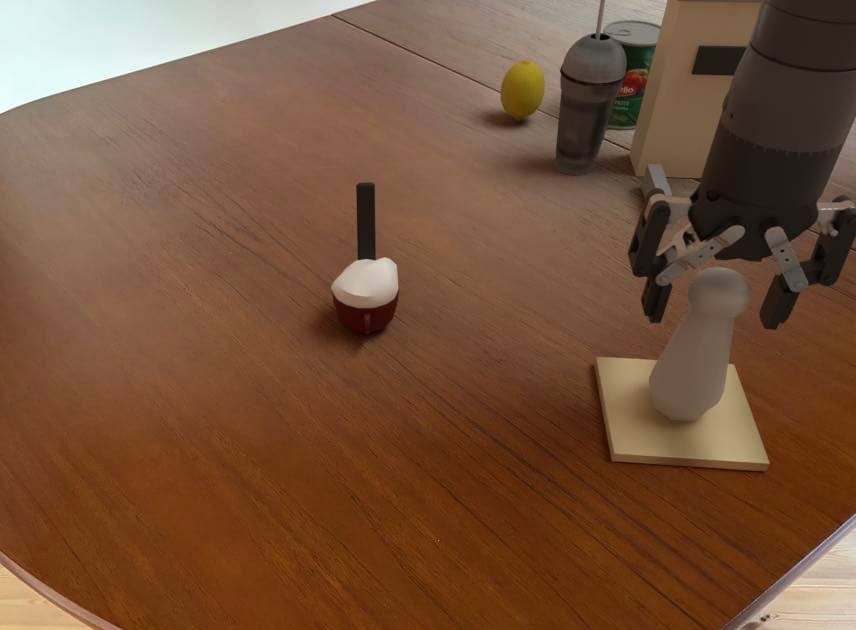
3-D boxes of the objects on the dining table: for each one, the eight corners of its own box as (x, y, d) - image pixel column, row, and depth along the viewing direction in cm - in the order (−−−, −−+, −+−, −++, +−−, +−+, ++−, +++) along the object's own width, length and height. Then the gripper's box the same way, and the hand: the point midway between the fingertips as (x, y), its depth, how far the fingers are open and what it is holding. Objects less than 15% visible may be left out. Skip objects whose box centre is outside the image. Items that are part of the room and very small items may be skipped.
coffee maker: (733, 156, 105) (803, -48, 89) (766, 223, 94) (852, 4, 78) (624, 153, 106) (673, -49, 90) (644, 218, 95) (704, 2, 79)
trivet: (730, 372, 77) (734, 363, 76) (766, 471, 68) (770, 463, 68) (593, 364, 78) (595, 356, 77) (611, 461, 69) (614, 453, 69)
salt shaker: (726, 403, 72) (780, 276, 63) (695, 440, 69) (747, 312, 60) (662, 373, 75) (705, 247, 66) (629, 406, 72) (670, 279, 63)
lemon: (491, 125, 112) (499, 64, 107) (503, 107, 116) (512, 48, 111) (533, 132, 111) (543, 71, 105) (544, 115, 114) (554, 54, 109)
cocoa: (379, 355, 79) (384, 245, 71) (317, 339, 81) (315, 230, 73) (413, 298, 86) (420, 191, 77) (355, 284, 88) (356, 178, 79)
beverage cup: (555, 183, 101) (589, 7, 87) (535, 154, 106) (563, -17, 93) (614, 177, 102) (657, 1, 88) (591, 149, 107) (627, -22, 93)
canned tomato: (645, 104, 116) (666, 20, 108) (651, 131, 110) (674, 45, 103) (584, 101, 117) (601, 18, 109) (587, 127, 111) (605, 42, 104)
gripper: (680, 143, 53) (621, 346, 64) (926, 151, 51) (821, 357, 63) (659, 91, 58) (608, 287, 69) (881, 97, 57) (792, 295, 68)
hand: (709, 320), depth 66 cm, fingers open, 8 cm apart
